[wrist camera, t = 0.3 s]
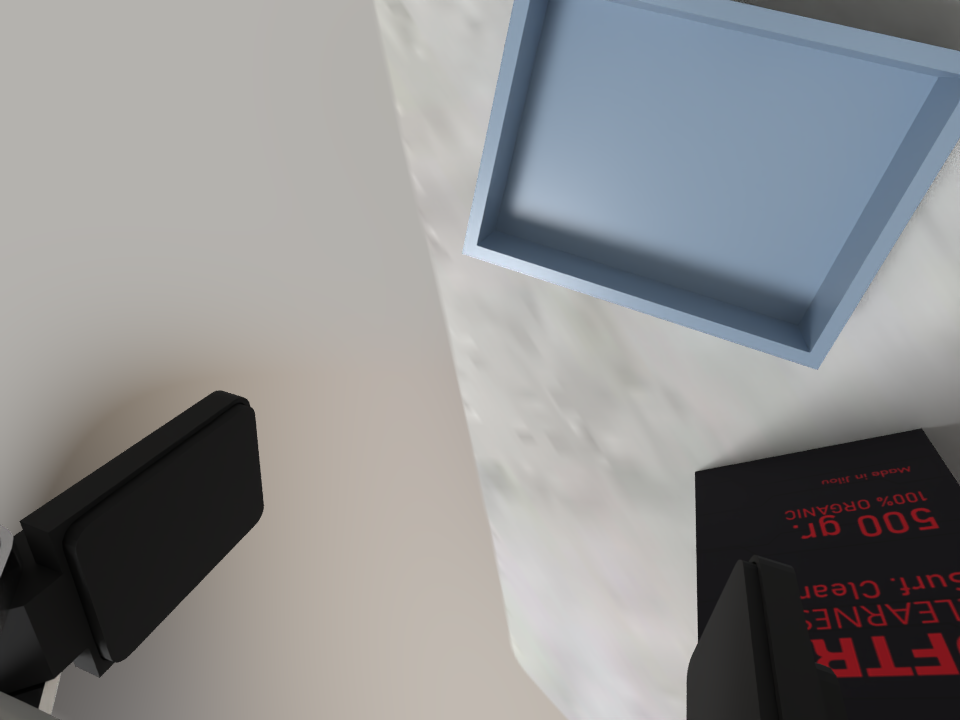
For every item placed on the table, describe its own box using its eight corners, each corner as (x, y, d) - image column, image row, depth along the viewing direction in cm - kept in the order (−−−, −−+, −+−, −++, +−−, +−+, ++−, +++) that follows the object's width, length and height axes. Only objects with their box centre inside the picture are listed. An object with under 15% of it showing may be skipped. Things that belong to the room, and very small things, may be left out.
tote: (545, -30, 32) (523, -46, 27) (958, 63, 28) (1006, 61, 24) (486, 234, 39) (462, 253, 35) (802, 334, 36) (817, 369, 32)
